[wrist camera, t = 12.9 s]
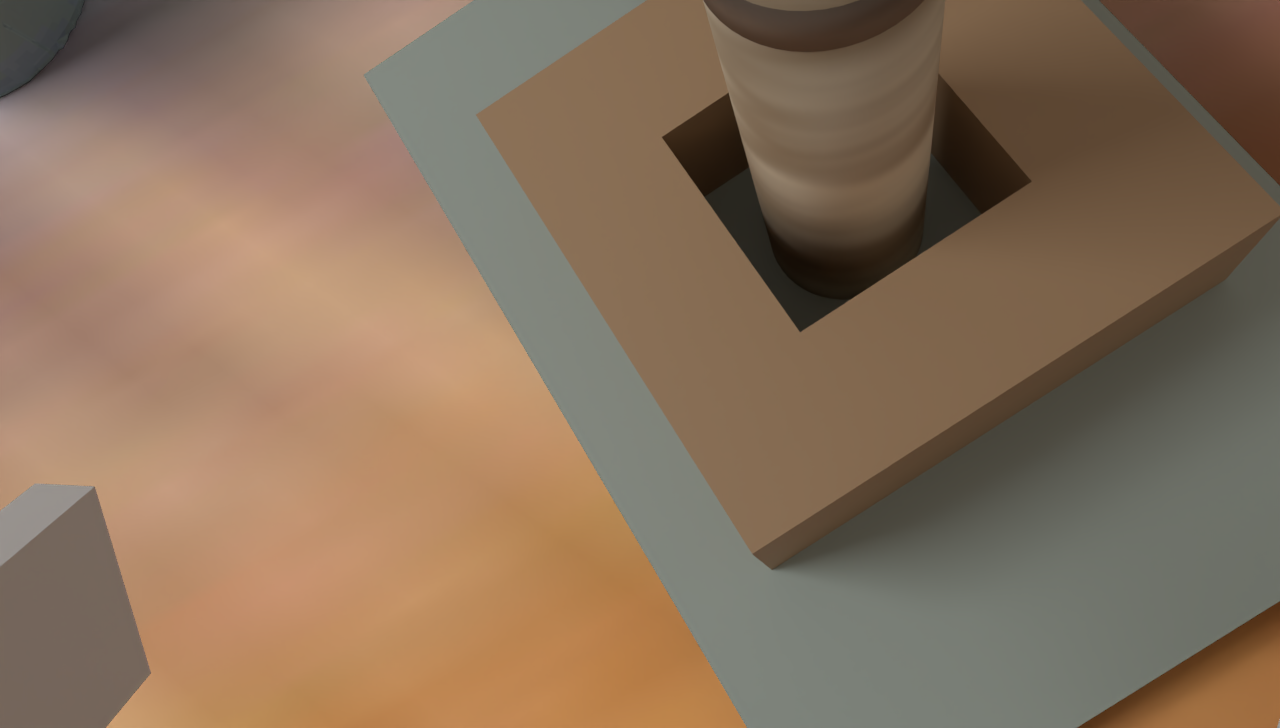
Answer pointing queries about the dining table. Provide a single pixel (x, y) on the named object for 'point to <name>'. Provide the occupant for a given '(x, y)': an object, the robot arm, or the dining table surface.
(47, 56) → the grey-green tapered pot
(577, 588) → the dining table surface
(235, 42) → the dining table surface
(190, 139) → the dining table surface
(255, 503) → the dining table surface
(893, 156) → the round peg
